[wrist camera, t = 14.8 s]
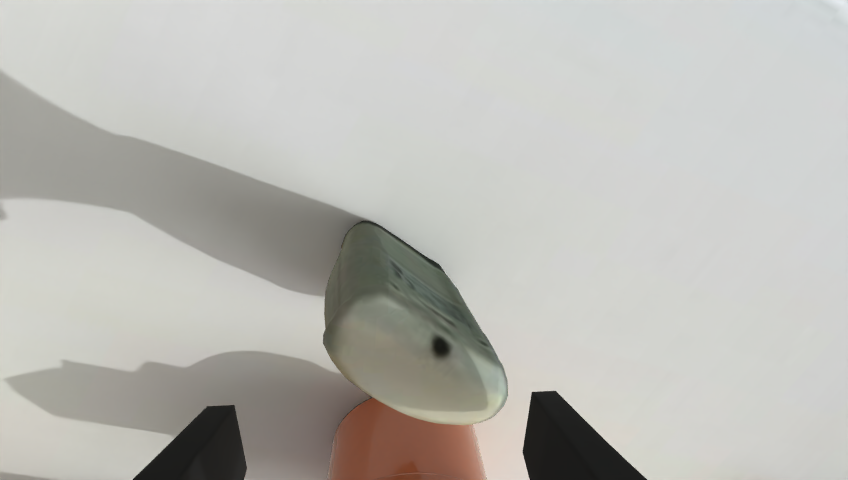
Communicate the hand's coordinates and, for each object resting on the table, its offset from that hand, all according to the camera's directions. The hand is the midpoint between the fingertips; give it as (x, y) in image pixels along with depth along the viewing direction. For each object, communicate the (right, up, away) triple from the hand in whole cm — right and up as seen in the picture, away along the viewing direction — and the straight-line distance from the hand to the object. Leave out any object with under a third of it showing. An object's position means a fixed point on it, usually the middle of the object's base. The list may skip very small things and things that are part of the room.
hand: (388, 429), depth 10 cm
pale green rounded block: (0, +4, +8) cm, 9 cm away
